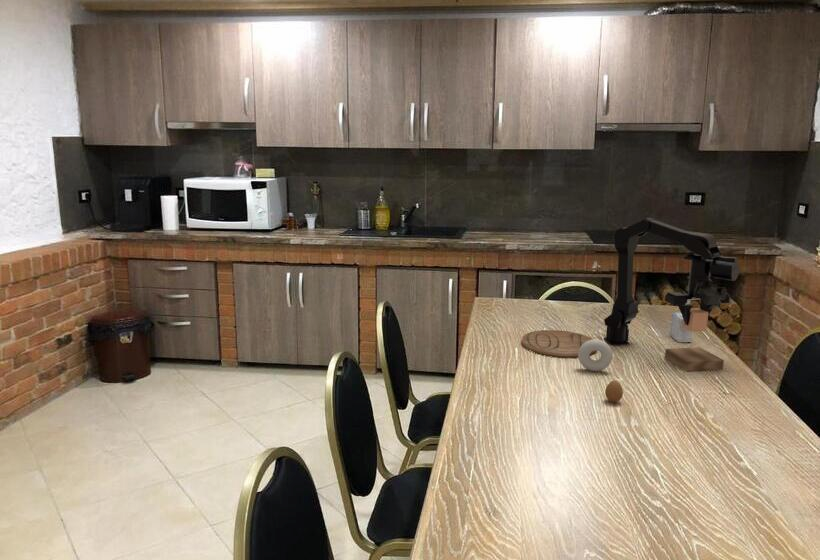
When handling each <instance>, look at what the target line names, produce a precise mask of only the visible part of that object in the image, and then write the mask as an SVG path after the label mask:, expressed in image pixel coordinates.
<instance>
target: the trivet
mask: <svg viewBox="0 0 820 560" xmlns="http://www.w3.org/2000/svg"><path fill="white" fill-rule="evenodd" d="M593 339H594V338H592V337H591V336H588V335H585V334H581V333H578V332H574V331H568V330H567V331H566V330H560V329H559V330H557V329H556V330H555V329H544V330H535V331H530V332H527V333H525V334H524V335H523V336H522V338H521V345H522V346H524V347H525V348H524V347H523V348H524V349H526V348H527V349H528V351H529V350H531V351H533V352H532V353H534V352H535V353H534V354H536V353H537V355H540V354H541V355H540V356H544V355H545V356H544V357H549V356H552V357H551V358H556V357H558V359H559V358H560V359H579V358H578V352H579V349H580V347H581V346H582V344H584V343H585V342H586V341H589V340H593ZM527 349H526V350H527ZM531 351H530V352H531ZM597 352H598V351H596V350H595V351H592V352H591V353H590V357H591V356H593V355H595V354H596V353H597Z"/></svg>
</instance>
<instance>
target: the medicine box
mask: <svg viewBox="0 0 820 560" xmlns="http://www.w3.org/2000/svg"><path fill="white" fill-rule="evenodd" d="M670 322H671V323H670V329H669V331H670V332H669V336H670V337H671V338H673V339H674V340H675V341H677V342H678V343H682V342H686V343H687V342H690V343H691V342H692V334H693V332H691V331H689V330H687V329H685V328H682V323H683V317H682V314H681V312H672V313H671V320H670ZM686 343H685V344H686Z"/></svg>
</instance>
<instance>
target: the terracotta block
mask: <svg viewBox="0 0 820 560" xmlns="http://www.w3.org/2000/svg"><path fill="white" fill-rule="evenodd" d="M708 318H709V316H708V312H706V311H704V310H701V309H700V308H698V307H695V308H693V307H692V308H691V310H690V319H689V324H688V325H686V324H685V322H684V319H683V323H682V328H685V329H687V330H689V331H691V332H692V333H697V332H698V333H699V332H707V331H708V330H707V329H708Z"/></svg>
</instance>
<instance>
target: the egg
mask: <svg viewBox="0 0 820 560" xmlns="http://www.w3.org/2000/svg"><path fill="white" fill-rule="evenodd" d="M604 393H605V394H604V395H605V398H606V399H607V401H609V402H610V403H618V402H619V401H621V399H622V398H623V395H624V394H623V393H624V390H623V387H622V384H621V383H620V381H618V380H611V381H609V383H608V384H607V386H606V387H605V391H604Z"/></svg>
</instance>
